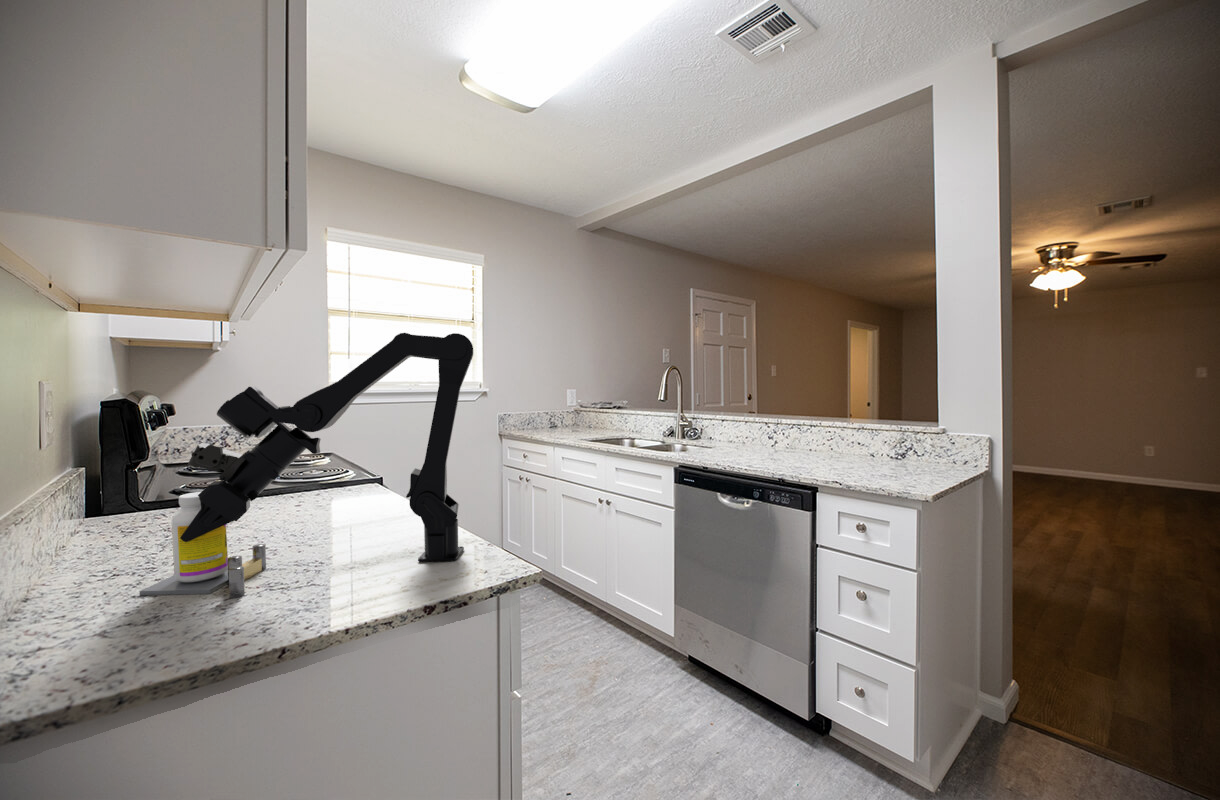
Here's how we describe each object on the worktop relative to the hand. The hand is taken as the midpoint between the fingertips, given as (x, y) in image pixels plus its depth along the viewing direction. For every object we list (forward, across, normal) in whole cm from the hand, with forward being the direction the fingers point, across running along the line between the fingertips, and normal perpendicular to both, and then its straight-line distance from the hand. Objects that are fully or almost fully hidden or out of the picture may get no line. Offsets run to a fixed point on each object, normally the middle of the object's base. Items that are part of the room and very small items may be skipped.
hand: (188, 534), depth 81 cm
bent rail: (0, +4, +11) cm, 12 cm away
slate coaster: (+5, 0, +6) cm, 8 cm away
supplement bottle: (+4, 0, +6) cm, 7 cm away
